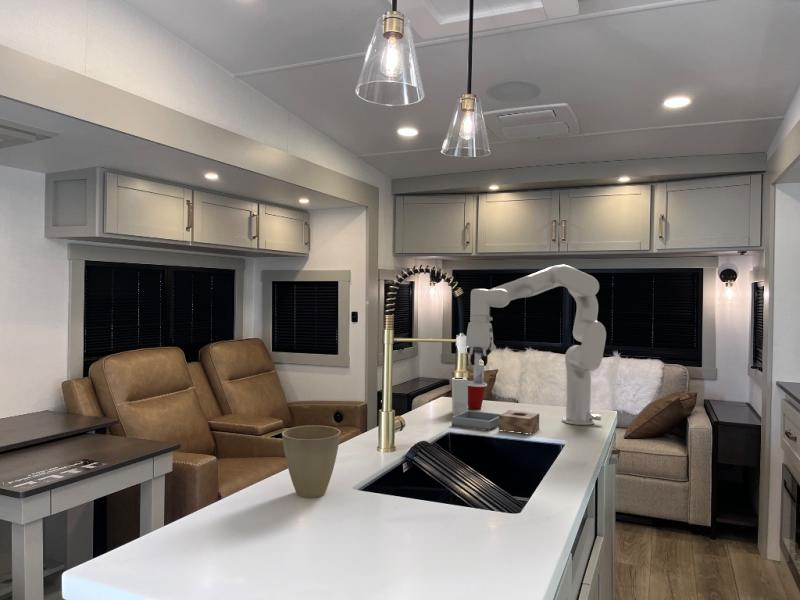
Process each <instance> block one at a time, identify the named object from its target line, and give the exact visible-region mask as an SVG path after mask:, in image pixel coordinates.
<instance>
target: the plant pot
mask: <svg viewBox="0 0 800 600" xmlns="http://www.w3.org/2000/svg"><path fill="white" fill-rule="evenodd" d="M340 436H341V430H340V429H338V428H336V427H333V426H327V425H302V426H294V427H290V428H287V429H285V430H283V431H282V433H281V437H282V444H283V452H284V455H285V461H286V465H287V469H288V472H289V477H290V480H291V482H292V486H293V488H294V490H295V494H296V495H297V496H298V497H300V498H304V499H314V498H315V499H316V498H320V497H322V496H324V495H325V494H326V492H327V490H328V486H329V483H330V481H331V479H332V475H333V471H334V469H335V463H336V460H337V455H338V451H339V444H340V439H341V438H340Z"/></svg>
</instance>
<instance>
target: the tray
mask: <svg viewBox="0 0 800 600" xmlns="http://www.w3.org/2000/svg"><path fill="white" fill-rule="evenodd" d="M501 414H502V413H493V412H485V411H479V410H471V409H468V410H467V411H465V412H463V413H460V414H458V415H453V416H451V426H452V427H458V426H459V427H460V428H465V427H468V428H467V429H472V428H476V429H475V430H480V429H485V430H484V431H487V430H490V431H492V430H494V429H496V428H498V427H499V415H501ZM497 426H498V427H497ZM459 427H458V428H459ZM495 427H496V428H495ZM493 428H494V429H493ZM491 429H492V430H491Z"/></svg>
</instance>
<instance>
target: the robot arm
mask: <svg viewBox="0 0 800 600" xmlns="http://www.w3.org/2000/svg"><path fill="white" fill-rule="evenodd" d="M558 287H565V288H566V289H567V290H568V293H569V294H570V295H571V296H572V297H573V299H574V300H575V302H576V303H575V304H576V312H575V317H574V323H573V329H572V336H573V339H575V340H576V341H577V342H580V343H581V345H579V344H578V345H577V344H574V345H572V346H570V347H569V348H568V349H567V350H566V352H565V355H564V360H565V363H564V364H565V369H566V394H565V395H566V398H565V399H566V401H565V403H566V404H565V406H566V409H565V416H563V417H562V419H561V421H562V422H563V423H566V424H570V425H578V426H588V425H589V426H591V425H593V424H595V421H602V416H601V415H599V414H593V411H592V410H591V391H592V390H591V386H592V385H591V384H592V379H591V377H592V376H591V372H594V371H596V370H598V369H599V367H600V365H601V363H602V360H603V357H604V350H605V346H606V340H607V331H606V327H605V325H603V323H602V322H600V321H598V314H599V302H598V299H597V296H596V295H597V293H598V292H599V290H600V283H599V281H598V280H597V279H596V277H594V276H593V275H590V274H588V273H586V272H583V271H581V270H579V269H577V268H575V267H572V266H570V265H566V264H558V265H554V266H553V265H552V266H549V267H546V268H545V269H541V270H539V271H537V272H534V273H531V274H529V275H525V276H523V277H520V278H517V279H515V280H512V281H509V282H506V283H503V284H501V285H498V286H496V287H492V288H490V289H486V288H473V289H471V291H470V317H469V321H470V322H468V325H467V329H466V337H467V350H466V351H467V352H468V354H469V355H470V363H471V366H474V351H473V347H481V348H483V356H482V360H483V361H484V367H486V366H487V364H488V362H489V361H488V360H489V358H488V356H489V355H490V354H491V353H492V352H493V351H495V350H497V347H496V345H495V343H494V333H493V326H492V323H490V321H493V316H491V315H490V307H492V308H505V307H507V306H508V305H509V304H510V302H511V301H514V300H517V299H522V298H531V297H533V296H537V295H539V294H541V293H544V292H546V291H549V290H551V289H555V288H558Z"/></svg>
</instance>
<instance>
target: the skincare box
mask: <svg viewBox="0 0 800 600" xmlns="http://www.w3.org/2000/svg"><path fill="white" fill-rule="evenodd" d="M455 378H456V377H452V378H451V395H452V396H451V405H452V406H451V409H452V415H453V416H455V415H458V414H460V413H463V412H465V411H467V410H469V408H468V381H469V380H468V379H467V377H462V378H463V379H455Z"/></svg>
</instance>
